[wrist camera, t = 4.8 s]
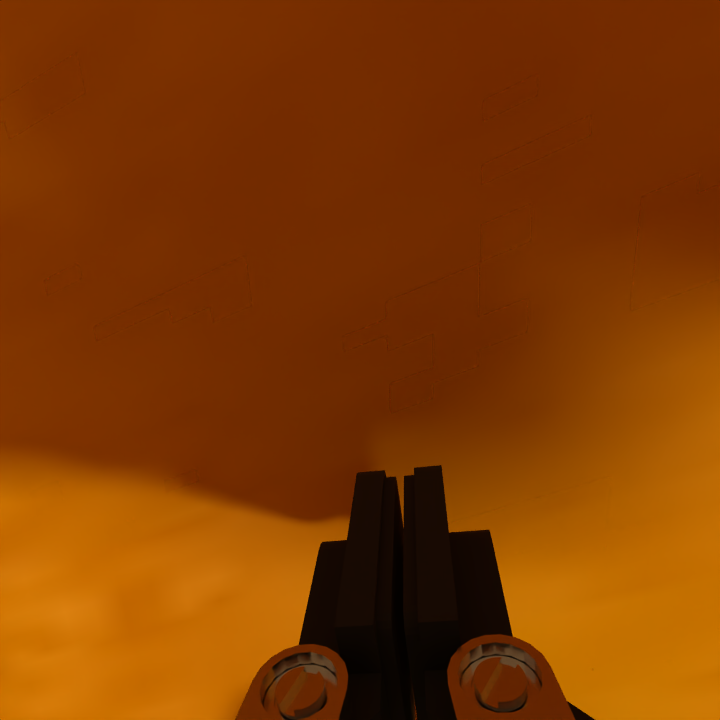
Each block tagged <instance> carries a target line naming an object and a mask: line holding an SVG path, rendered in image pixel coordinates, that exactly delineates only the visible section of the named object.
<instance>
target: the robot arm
mask: <svg viewBox="0 0 720 720" xmlns="http://www.w3.org/2000/svg"><path fill="white" fill-rule="evenodd" d="M415 705H416V712H417V719H418V720H595V719H593V718H592V717H590V716H589V715H587V714H586V713H584V712H583V711H581V710H580V709H578V708H577V707H575V706H574V705H572V704H571V703H569V702H567V701H566V698H565V696H564V694H563V692H562V690H561V688H560V685H559V683H558V681H557V679H556V677H555V675H554V673H553V670H552V668H551V666H550V665H549V663H548V662H547V660H546V659H545V657H544V656H543V654H542V653H541V652H539V651H538V650H537V649H536V648H534V647H533V646H532V645H531V644H529V643H527V642H525V641H523V640H520V639H518V638H516V637H513V636H512V631H511V626H510V622H509V617H508V612H507V608H506V603H505V598H504V594H503V589H502V584H501V580H500V575H499V571H498V566H497V561H496V557H495V552H494V547H493V543H492V538H491V534H490V531H489V530H478V531H465V532H451V533H449V530H448V521H447V512H446V503H445V494H444V485H443V476H442V467H441V465H439V466H428V467H416V468H414V475H409V476H404V528H403V521H402V514H401V507H400V500H399V493H398V486H397V480H396V477H386V473H385V471H384V470H382V471H370V472H359V473H357V476H356V483H355V489H354V496H353V503H352V510H351V516H350V523H349V530H348V537H347V540H342V541H329V542H322V543H321V545H320V548H319V552H318V557H317V561H316V566H315V571H314V575H313V580H312V585H311V590H310V594H309V599H308V604H307V608H306V613H305V618H304V622H303V627H302V632H301V637H300V641H299V645H297V646H294V647H291V648H288V649H285V650H283V651H281V652H279V653H278V654H276V655H274V656H273V657H271V658H270V659H269V660H268V661H267V662H266V663H265V664H264V665H263V666H262V667H261V668H260V669H259V671H258V672H257V674H256V676H255V677H254V679H253V681H252V683H251V685H250V687H249V689H248V692H247V694H246V696H245V698H244V701H243V703H242V705H241V707H240V709H239V712H238V714H237V716H236V718H235V720H415Z"/></svg>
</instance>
